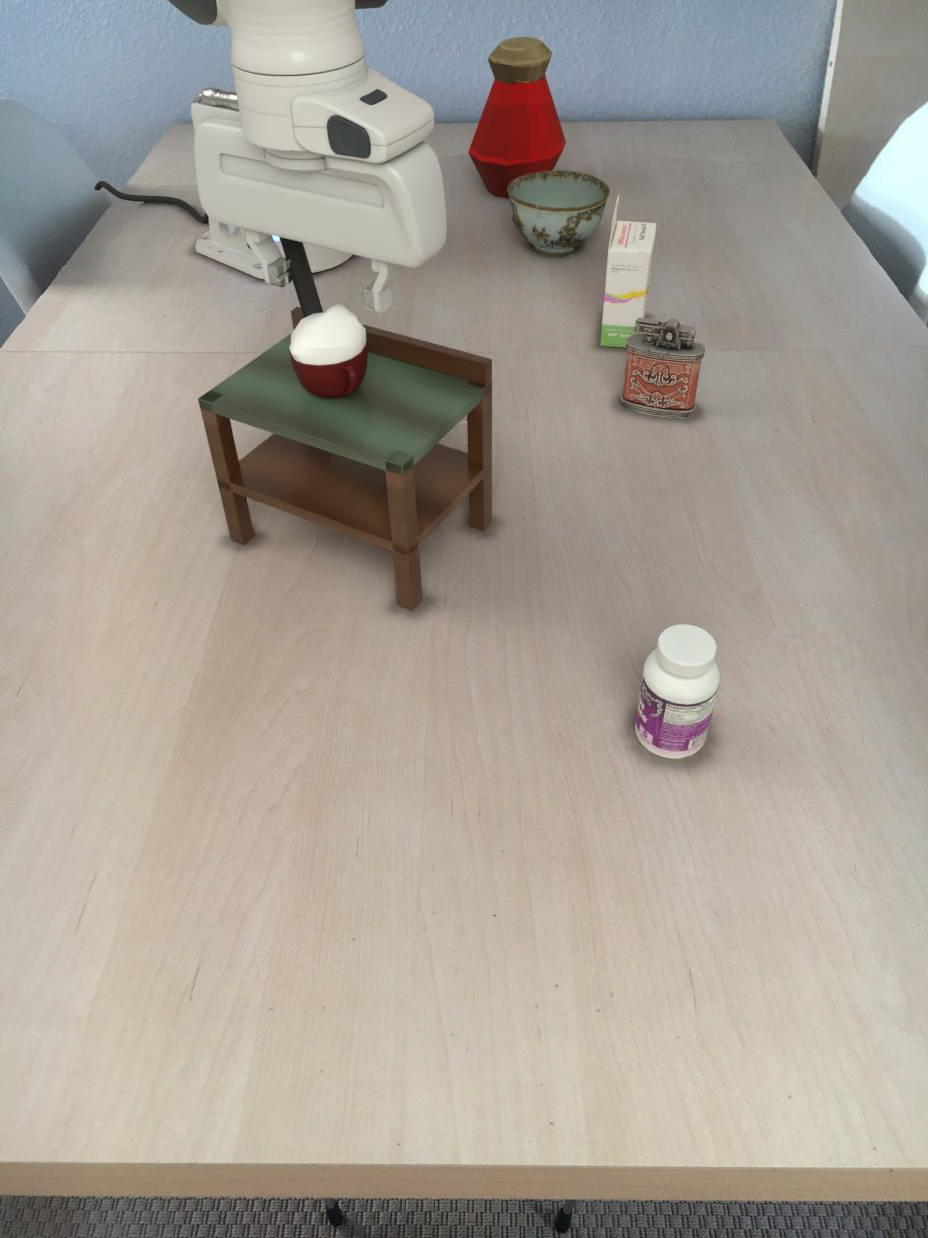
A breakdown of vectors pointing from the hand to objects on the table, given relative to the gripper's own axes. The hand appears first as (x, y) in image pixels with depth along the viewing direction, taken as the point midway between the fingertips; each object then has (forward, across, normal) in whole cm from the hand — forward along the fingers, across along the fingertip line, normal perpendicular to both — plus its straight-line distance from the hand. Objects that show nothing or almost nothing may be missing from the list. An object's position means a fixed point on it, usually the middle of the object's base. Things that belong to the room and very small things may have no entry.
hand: (328, 295), depth 77 cm
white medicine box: (+24, +7, +47) cm, 53 cm away
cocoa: (+8, 0, 0) cm, 8 cm away
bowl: (+24, -11, +65) cm, 70 cm away
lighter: (+23, +17, +32) cm, 43 cm away
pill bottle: (+23, +35, -10) cm, 43 cm away
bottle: (+24, -26, +82) cm, 89 cm away
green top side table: (+23, +1, 0) cm, 23 cm away
